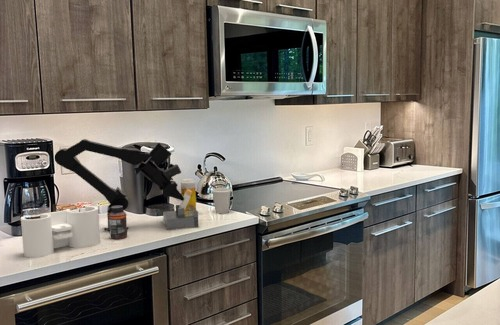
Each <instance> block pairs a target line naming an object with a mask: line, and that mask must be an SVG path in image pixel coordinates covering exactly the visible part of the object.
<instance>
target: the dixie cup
mask: <svg viewBox="0 0 500 325" xmlns="http://www.w3.org/2000/svg"><path fill="white" fill-rule="evenodd" d="M231 191H232V189H231V188H227V187H219V188H217V187H216V188H212V190H211V192H212V197H213V199H212V200H213V205H214V212H215V214H219V215H224V214H229V210H230V200H231Z"/></svg>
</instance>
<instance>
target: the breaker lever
mask: <svg viewBox="0 0 500 325" xmlns="http://www.w3.org/2000/svg"><path fill="white" fill-rule="evenodd" d="M191 194H192V191H191V190H189V189H187V190H186V192H185V194H184V200H183V201H181V200H180V204H179V205H180V206H179V208H184V211H185V209H186V206H187V204H188V202H189V199H190V197H191ZM179 208H178V209H179Z"/></svg>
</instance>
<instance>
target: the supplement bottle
mask: <svg viewBox="0 0 500 325" xmlns="http://www.w3.org/2000/svg"><path fill="white" fill-rule="evenodd" d="M127 221H128V220H127V213H126V212H125V210H124V211H123V206H120V205H117V206H112V207H111V213H110V214H109V224H110V231H109V234H110V238H111V239H114V240H121V239H125V238H127V236H128V229H127V227H128V222H127Z"/></svg>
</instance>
